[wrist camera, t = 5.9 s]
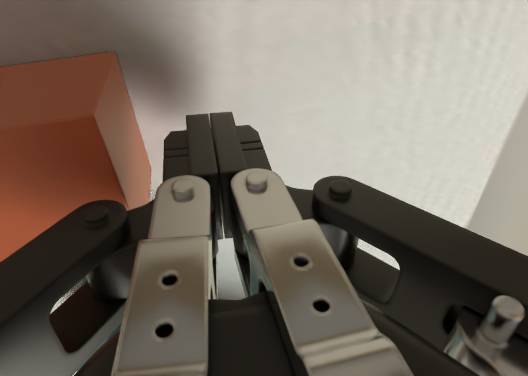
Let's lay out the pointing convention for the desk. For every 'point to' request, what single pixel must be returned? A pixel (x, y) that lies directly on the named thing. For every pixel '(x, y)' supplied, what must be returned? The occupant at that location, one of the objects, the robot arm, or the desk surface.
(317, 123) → the desk surface
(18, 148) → the block terracotta
